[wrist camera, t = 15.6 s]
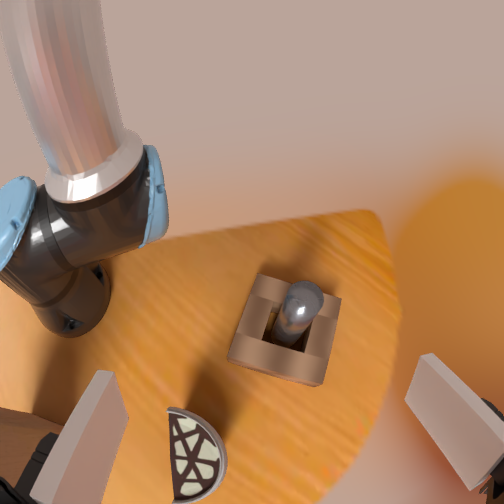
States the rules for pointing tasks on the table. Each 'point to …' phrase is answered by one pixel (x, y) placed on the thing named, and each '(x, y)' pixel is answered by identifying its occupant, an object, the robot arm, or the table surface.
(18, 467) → the wooden block
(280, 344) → the peg
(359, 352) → the table surface
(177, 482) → the food container
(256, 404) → the table surface
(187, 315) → the table surface
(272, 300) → the square block with hole
